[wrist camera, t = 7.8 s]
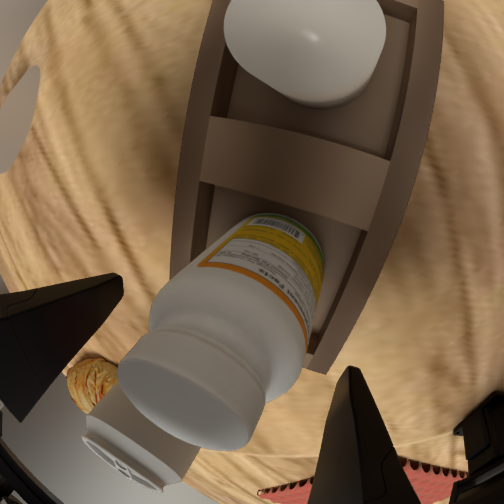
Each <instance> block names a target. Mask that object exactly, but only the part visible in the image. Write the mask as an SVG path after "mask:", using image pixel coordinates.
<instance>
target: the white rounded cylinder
mask: <svg viewBox="0 0 504 504" xmlns="http://www.w3.org/2000/svg"><path fill="white" fill-rule="evenodd" d="M224 36H225V40H226V44H227V46H228V48H229V50H230V53H231V54H232V56H233V57H234V59H235V60H236V61H237V62H238V63H239V64H240V65H241V67H243V68H244V69H245V70H246V71H247V72H249V73H250V74H252V75H253V76H255V77H256V78H258V79H259V80H261V81H263V82H264V83H266V84H267V85H269V86H270V87H272V88H273V89H275V90H276V91H278V92H279V93H281V94H282V95H284V96H285V97H287V98H288V99H290V100H291V101H293V102H295V103H296V104H299V105H301V106H304V107H307V108H311V109H318V110H329V109H336V108H340V107H343V106H345V105H348V104H350V103H351V102H353V101H355V100H356V99H357V98H358V97H360V96H361V94H362V93H363V92H364V91H365V89H366V88H367V86H368V84H369V82H370V80H371V77H372V75H373V72H374V70H375V67H376V64H377V62H378V59H379V57H380V54H381V52H382V49H383V46H384V43H385V38H386V23H385V18H384V15H383V11H382V9H381V7H380V5H379V3H378V2H377V0H231V2H230V4H229V6H228V8H227V11H226V14H225V19H224Z"/></svg>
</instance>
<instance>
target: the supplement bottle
mask: <svg viewBox="0 0 504 504" xmlns="http://www.w3.org/2000/svg"><path fill="white" fill-rule="evenodd" d="M323 276H324V257H323V253H322V250H321V247H320V245H319V243H318V241H317V239H316V238H315V236H314V235H313V234H312V233H311V231H310V230H309V229H308V228H307V227H305V226H304V225H303V224H301V223H300V222H298V221H297V220H295V219H293V218H291V217H289V216H286V215H282V214H277V213H260V214H256V215H253V216H250V217H248V218H246V219H244V220H242V221H241V222H239V223H238V224H237V225H235V226H234V227H233V228H231V229H230V230H229V231H228V232H226V233H225V234H224V235H223V236H222V237H221V238H219V239H218V240H217V241H216V242H215V243H213V244H212V245H211V246H210V247H208V248H207V249H206V250H205V251H204V252H202V253H201V254H200V255H199V256H198V257H197V258H195V259H194V260H193V261H192V262H191V263H189V264H188V265H187V266H186V267H185V268H183V269H182V270H181V271H180V272H179V273H177V274H176V275H175V276H174V277H173V278H172V279H171V280H170V281H169V282H168V283H167V284H166V285H165V286H164V287H163V288H162V289H161V290H160V291H159V293H158V294H157V296H156V297H155V299H154V301H153V304H152V306H151V310H150V316H149V330H150V332H149V333H147V334H145V335H144V336H142V337H141V338H140V339H139V341H138V342H137V343H136V344H135V346H134V347H133V348H132V349H131V350H130V351H129V352H128V353H127V354H126V355H125V357H124V358H123V359H122V360H121V361H120V363H119V365H118V368H117V376H118V380H119V383H120V385H121V387H122V389H123V391H124V393H125V394H126V396H127V397H128V398H129V400H130V401H131V402H132V404H133V405H134V406H135V407H136V408H137V409H138V410H139V411H140V412H141V413H142V414H143V415H144V416H145V417H147V418H148V419H149V420H150V421H151V422H153V423H154V424H155V425H157V426H158V427H160V428H161V429H163V430H164V431H166V432H167V433H169V434H171V435H173V436H174V437H176V438H178V439H181V440H183V441H185V442H187V443H190V444H193V445H196V446H199V447H202V448H206V449H210V450H216V451H232V450H237V449H240V448H242V447H244V446H245V445H246V444H247V443H248V442H249V441H250V439H251V437H252V435H253V432H254V430H255V428H256V426H257V423H258V421H259V419H260V417H261V414H262V412H263V409H264V406H265V403H267V402H270V401H272V400H274V399H276V398H278V397H280V396H281V395H283V394H284V393H286V392H287V391H288V390H289V389H290V388H291V387H292V386H293V385H294V383H295V382H296V380H297V378H298V376H299V374H300V372H301V369H302V366H303V363H304V360H305V356H306V352H307V348H308V344H309V340H310V335H311V331H312V327H313V323H314V319H315V314H316V310H317V305H318V301H319V296H320V291H321V287H322V282H323Z"/></svg>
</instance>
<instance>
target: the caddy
mask: <svg viewBox="0 0 504 504" xmlns="http://www.w3.org/2000/svg"><path fill="white" fill-rule="evenodd" d="M230 2H231V0H213V2H212V5H211V9H210V12H209V16H208V19H207V23H206V27H205V31H204V34H203V38H202V42H201V47H200V51H199V55H198V59H197V64H196V68H195V73H194V78H193V83H192V88H191V93H190V98H189V103H188V109H187V115H186V120H185V127H184V133H183V139H182V146H181V153H180V161H179V168H178V177H177V185H176V195H175V205H174V216H173V228H172V241H171V258H170V280H171V279H172V278H173V277H174V276H175V275H176V274H177V273H179V272H180V271H181V270H182V269H183V268H185V267H186V266H187V265H188V264H189V263H191V262H192V261H193V260H194V259H195V258H197V257H198V256H199V255H200V254H201V253H202V252H204V251H205V250H206V249H207V248H208V247H210V246H211V245H212V244H213V243H215V242H216V241H217V240H218V239H219V238H221V237H222V236H223V235H224V234H225V233H226V232H228V231H229V230H230V229H231V228H233V227H234V226H235V225H237V224H238V223H239V222H241V221H242V220H244V219H246V218H248V217H250V216H253V215H256V214H260V213H277V214H282V215H286V216H289V217H291V218H293V219H295V220H297V221H298V222H300V223H301V224H303V225H304V226H305V227H307V228H308V229H309V230H310V231H311V233H312V234H313V235H314V236H315V238H316V239H317V241H318V243H319V245H320V247H321V250H322V253H323V257H324V276H323V282H322V287H321V291H320V296H319V301H318V305H317V310H316V314H315V319H314V323H313V327H312V331H311V335H310V340H309V344H308V348H307V352H306V356H305V360H304V363H303V366H302V367H303V368H306V369H309V370H312V371H315V372H318V373H322V374H325V375H326V374H327V372H328V371H329V369H330V367H331V366H332V364H333V362H334V361H335V359H336V357H337V356H338V354H339V352H340V350H341V349H342V347H343V345H344V343H345V342H346V340H347V338H348V336H349V334H350V333H351V331H352V329H353V327H354V325H355V323H356V321H357V320H358V318H359V316H360V314H361V312H362V310H363V308H364V306H365V304H366V302H367V300H368V298H369V296H370V294H371V291H372V289H373V287H374V285H375V283H376V281H377V279H378V276H379V274H380V272H381V270H382V267H383V265H384V263H385V261H386V258H387V256H388V253H389V251H390V249H391V246H392V244H393V241H394V239H395V236H396V234H397V231H398V228H399V226H400V223H401V220H402V218H403V215H404V212H405V209H406V206H407V204H408V201H409V198H410V195H411V192H412V188H413V185H414V182H415V179H416V176H417V172H418V169H419V165H420V162H421V158H422V155H423V151H424V147H425V143H426V139H427V135H428V131H429V126H430V122H431V117H432V112H433V107H434V102H435V96H436V90H437V84H438V77H439V70H440V62H441V52H442V40H443V22H444V1H442V0H377V2H378V3H379V5H380V7H381V9H382V11H383V15H384V18H385V23H386V38H385V43H384V46H383V49H382V52H381V54H380V57H379V59H378V62H377V64H376V67H375V70H374V72H373V75H372V77H371V80H370V82H369V84H368V86H367V88H366V89H365V91H364V92H363V93H362V94H361V96H360V97H358V98H357V99H356V100H355V101H353V102H351V103H350V104H348V105H345V106H343V107H340V108H336V109H329V110H318V109H311V108H307V107H304V106H301V105H299V104H296V103H295V102H293V101H291V100H290V99H288V98H287V97H285V96H284V95H282V94H281V93H279V92H278V91H276V90H275V89H273V88H272V87H270V86H269V85H267V84H266V83H264V82H263V81H261V80H259V79H258V78H256V77H255V76H253V75H252V74H250V73H249V72H247V71H246V70H245V69H244V68H243V67H241V65H240V64H239V63H238V62H237V61H236V60H235V59H234V57H233V56H232V54H231V53H230V50H229V48H228V46H227V44H226V40H225V36H224V19H225V14H226V11H227V8H228V6H229V4H230ZM170 280H169V281H170Z"/></svg>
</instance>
